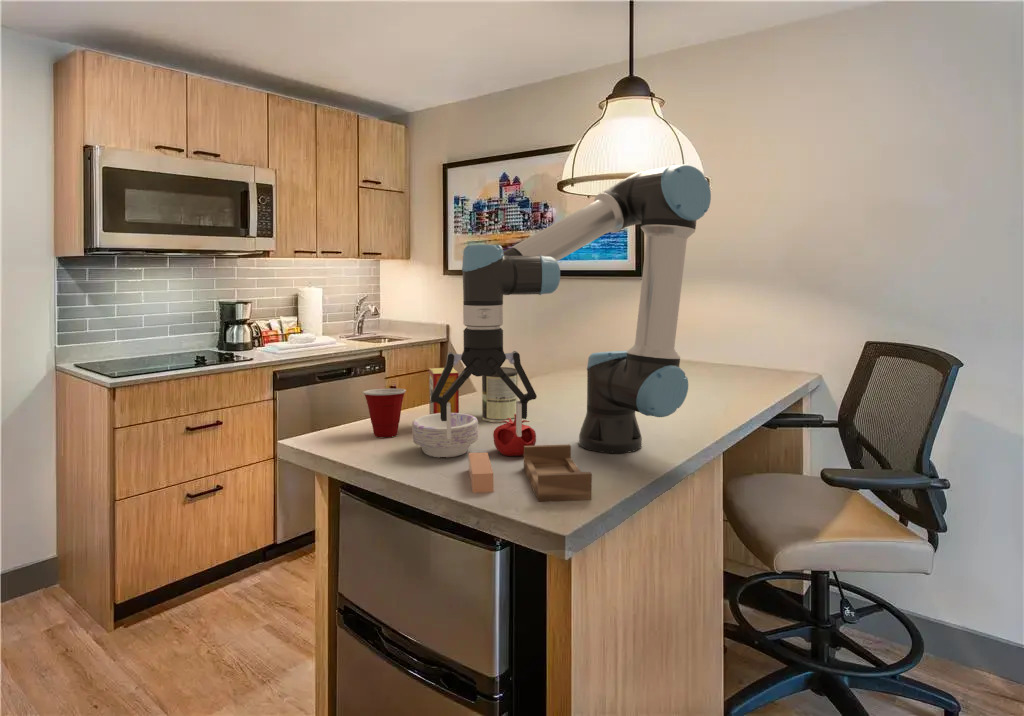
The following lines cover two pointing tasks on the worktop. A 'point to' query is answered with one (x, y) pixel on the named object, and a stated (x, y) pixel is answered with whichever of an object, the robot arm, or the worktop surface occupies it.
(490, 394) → the coffee can
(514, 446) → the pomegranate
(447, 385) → the baking soda box
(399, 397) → the plastic cup
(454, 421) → the paper bowls
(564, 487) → the wooden crate tray
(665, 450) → the worktop surface
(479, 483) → the orange rectangular block
